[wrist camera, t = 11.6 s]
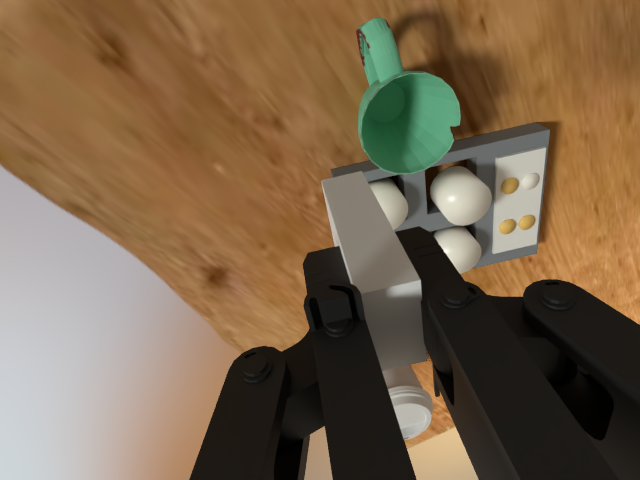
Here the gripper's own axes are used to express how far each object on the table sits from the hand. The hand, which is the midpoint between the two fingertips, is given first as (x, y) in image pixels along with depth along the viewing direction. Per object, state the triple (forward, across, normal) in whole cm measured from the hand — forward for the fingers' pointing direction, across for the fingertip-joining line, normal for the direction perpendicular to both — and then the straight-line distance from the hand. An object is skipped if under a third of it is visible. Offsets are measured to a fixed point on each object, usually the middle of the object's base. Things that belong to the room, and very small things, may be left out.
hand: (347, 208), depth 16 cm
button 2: (+33, +7, -18) cm, 38 cm away
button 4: (+31, +16, -18) cm, 39 cm away
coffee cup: (+35, +4, -44) cm, 56 cm away
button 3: (+33, +16, -26) cm, 46 cm away
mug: (+35, +9, -4) cm, 36 cm away
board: (+34, +15, -22) cm, 44 cm away
